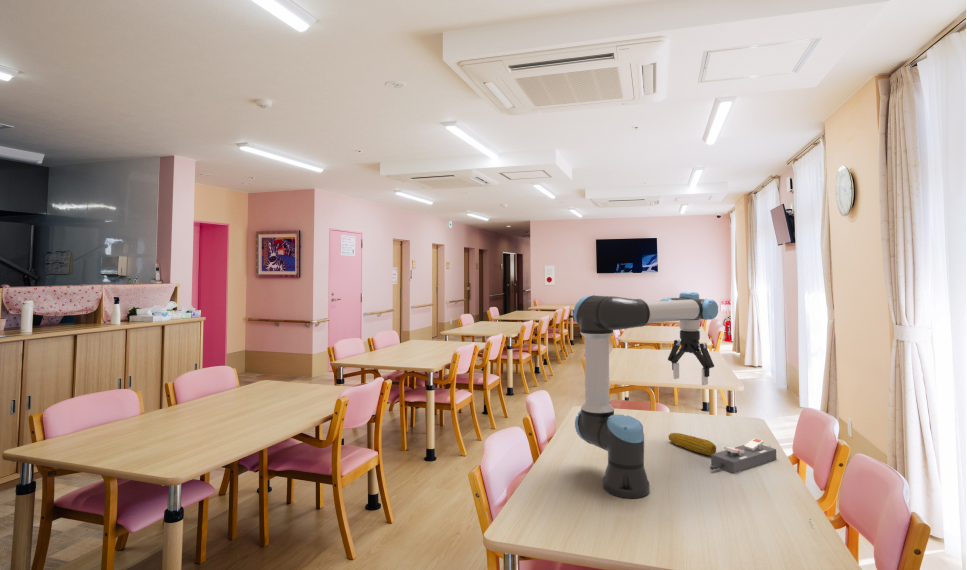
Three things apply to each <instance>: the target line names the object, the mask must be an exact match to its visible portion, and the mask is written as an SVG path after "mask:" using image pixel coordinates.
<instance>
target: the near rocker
mask: <svg viewBox="0 0 967 570" xmlns="http://www.w3.org/2000/svg"><path fill="white" fill-rule="evenodd" d="M723 447H724V448H723V451H725V450H727V451H730V452H733V453H743V454H744V451H743V450H741V449H738V448H735V447H729V446H728V447H727V446H723Z"/></svg>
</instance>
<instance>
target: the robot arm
mask: <svg viewBox="0 0 967 570" xmlns="http://www.w3.org/2000/svg"><path fill="white" fill-rule="evenodd" d="M718 313H719V304H718V302H716V301H715V300H713V299H708V298H700V294H699V293H698V292H693V291H690V292H689V291H683V292H680V293H679V296H678V297H664V298H662V299H660V300H654V301H653V300H651V301H645V300H644V299H641V298H628V297H627V298H626V297H620V296H613V295H611V296H608V295H607V296H606V295H595V294H594V295H585V296H583V297H581V298H580V299H579V300H578V301H577V302H576V304H575V305H574V308H573V315H572V316H573V318H574V319H573V320H574V322H576V324H577V325H578V326H579V333H580V334H581V336H583V338H584V390H585V391H584V396H585V397H584V400H585V402H584V403H583V404H582V405H581V407H580V411H578V413H577V415H576V417H575V420H574V428H575V432H576V433H577V435H578V437H579V438H580V439H582V440H583V441H585V442H586V443H587V444H590V445H594V446H595V447H597V448H599V449H602V450H604V451H606V452H607V465H606V469H605V473H604V475H603V478H602V487H603V489H604V490H605V492H607V493H608V494H611V495H613V496H615V497H620V498H626V499H638V498H639V499H640V498H644V497H645V496H648V495H649V494H650V487H651V485H650V482H649V479H648V475H647V473H646V469H645V434H644V425H643V424H642V422H641V421H640V420H639V419H637V418H636V417H633V416H630V415H624V414H619V413H618V414H615V408H614V407H613V406H612V404H611V403H610V346H609V344H610V343H609V341H610V340H609V338H611V336H612V335H613V333H614V331H617V330H626V329H627V330H628V329H634V328H641V327H643V328H644V326H646V325H647V324H653V323H654V324H656V323H665V322H667V323H668V322H679V329H680V330H679V339H674V340H673V346H672V348H671V351H670V353H669V355H668V357H667V361H669V362H671V370H672V372H673V373H672V374H673V375H672V376H673V377H672V378H673V380H677V379H680V362H679V361H680V359H681V358H682V357H683V355H684V354H685V353H689V354H693V355H694V356H695V358H696V360H698V361H699V363H700V364H701V366H702V368H701V386H708V385H709V377H710V369H711V368H715V364H714V362H713V360H712V357H711V355H710V352H709V350H708V345H707V343H706V342H703V343H702V342H701V343H700V340H701V331H700V327H701V324H700V320H705V321H706V320H707V321H709V320H712V321H713V320H714V319H715V318H716V317H717V316H718Z"/></svg>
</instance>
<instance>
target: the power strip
mask: <svg viewBox="0 0 967 570" xmlns="http://www.w3.org/2000/svg"><path fill="white" fill-rule="evenodd" d="M746 444H747V443H746ZM746 444H743V445H739V446H735V447H734V448H738V449H741V450H743V451H744V454H743V453H733V452H730V451H727V450H721V451H717V452H715V453H714V454H711V456H710V457H711V458H710V459H711V461H710V462H711V466H710V467H709V468H710V471H714V470H717V469H721V470H723V471H726V472H729V473H732V474H736V473H739V472H743V471H746V470H749V469H752V468H755V467H758V466H761V465H764V464H766V463H767V464H768V463H769V462H773V461H775V460H777V448H775V447H771V446H767V445H764V444H762V445H761V446H759V447H758V448H756V449H755V450H754V451H752V450H749V449H746V448H744V445H746Z"/></svg>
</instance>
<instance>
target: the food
mask: <svg viewBox="0 0 967 570" xmlns="http://www.w3.org/2000/svg"><path fill="white" fill-rule="evenodd" d="M668 440H669V441H670V442H671V443H672V444H674V445H677V446H679V447H681V448H684V449H686V450H689V451H692V452H696V453H699V454H701V455H705V456H708V457H711V454H714V453H717V445H715V443H713V442H712V441H710V440H709V439H704V438H700V437H696V436H692V435H688V434H684V433H681V432H671V433H669V435H668Z"/></svg>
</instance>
